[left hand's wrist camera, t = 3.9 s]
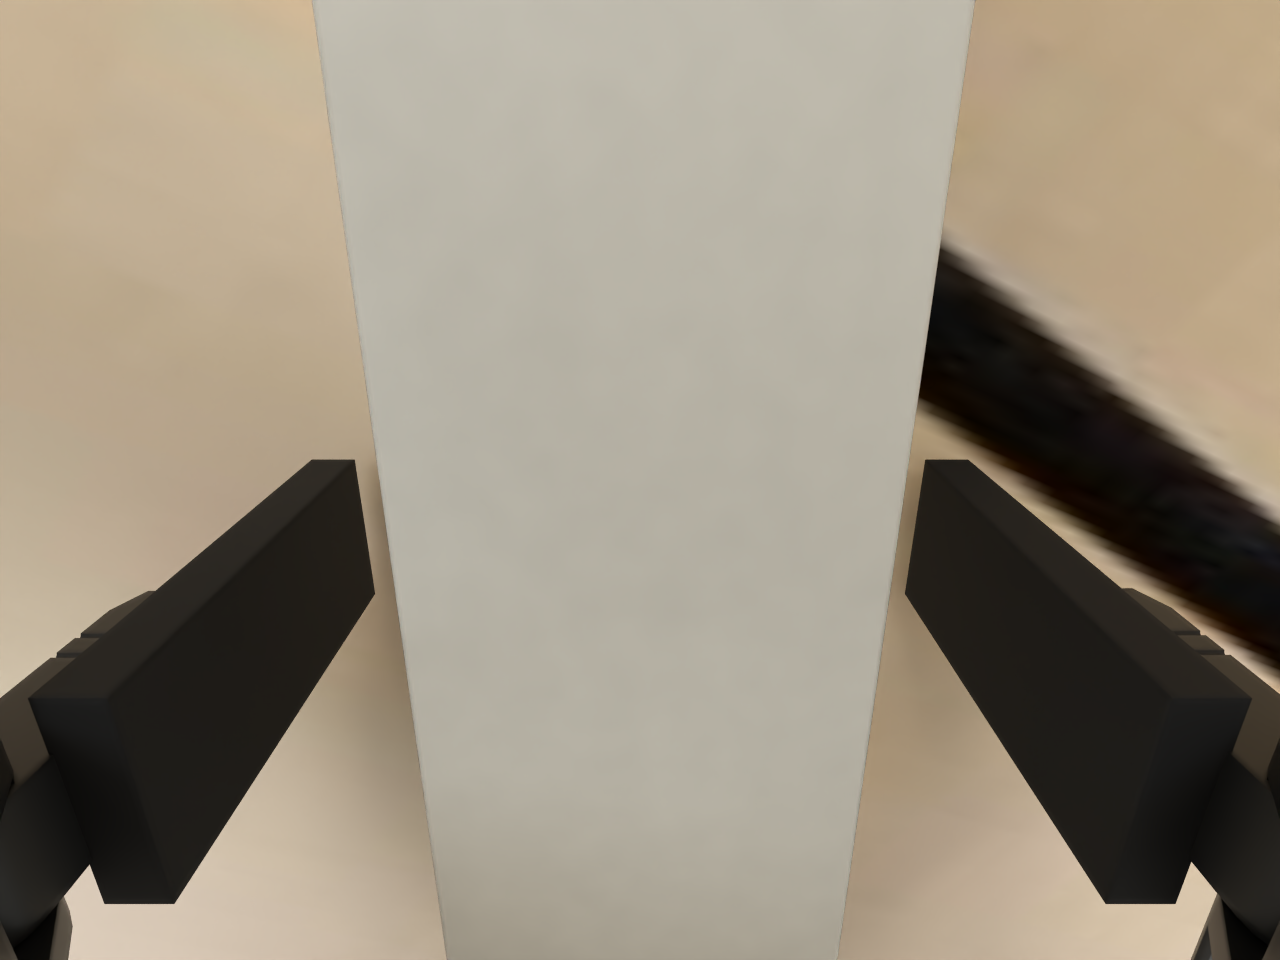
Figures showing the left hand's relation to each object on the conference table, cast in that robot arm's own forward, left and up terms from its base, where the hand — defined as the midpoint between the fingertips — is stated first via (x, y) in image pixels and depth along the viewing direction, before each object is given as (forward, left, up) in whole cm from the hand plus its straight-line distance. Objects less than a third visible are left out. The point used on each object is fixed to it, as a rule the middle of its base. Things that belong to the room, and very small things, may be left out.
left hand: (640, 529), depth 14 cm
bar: (+10, +29, -2) cm, 31 cm away
